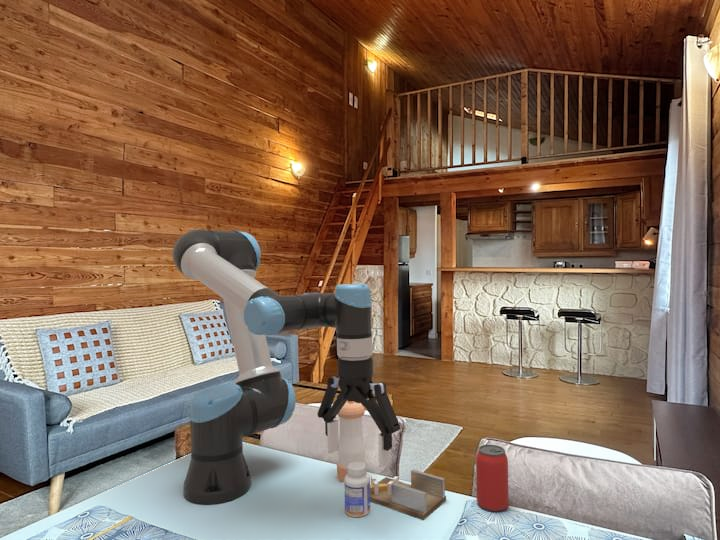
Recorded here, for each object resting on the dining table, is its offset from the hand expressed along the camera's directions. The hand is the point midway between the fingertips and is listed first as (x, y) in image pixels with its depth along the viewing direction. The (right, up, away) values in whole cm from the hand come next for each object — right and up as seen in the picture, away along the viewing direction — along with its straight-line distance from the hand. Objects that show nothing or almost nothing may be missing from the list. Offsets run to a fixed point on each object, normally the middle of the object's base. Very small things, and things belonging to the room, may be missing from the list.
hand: (357, 458), depth 100 cm
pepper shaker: (-1, -12, +17) cm, 20 cm away
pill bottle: (0, -12, 0) cm, 12 cm away
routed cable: (+6, -10, +7) cm, 14 cm away
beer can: (+29, -11, +2) cm, 31 cm away
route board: (+10, -11, +5) cm, 16 cm away
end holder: (+13, -11, +3) cm, 17 cm away
